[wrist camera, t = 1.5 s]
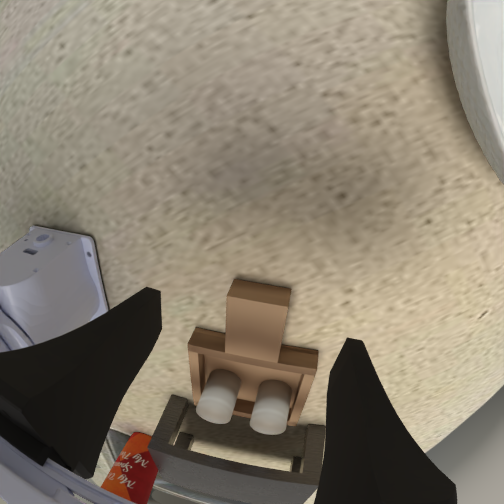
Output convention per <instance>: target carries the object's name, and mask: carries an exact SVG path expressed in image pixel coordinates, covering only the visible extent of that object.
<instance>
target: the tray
mask: <svg viewBox="0 0 504 504" xmlns="http://www.w3.org/2000/svg"><path fill="white" fill-rule="evenodd" d="M290 295H291V289H289V288H283V287H277V286H272V285H266V284H260V283H255V282H249V281H243V280H238V279H234V281H233V283H232V285H231V287H230V290H229V292H228V294H227V303H226V334H225V333H220V332H215V331H211V330H206V329H202V328H197V327H196V328H195V330H194V332H193V334H192V336H191V338H190V340H189V342H188V354H189V364H190V374H191V383H192V392H193V400H194V405H196V406H197V407H196V412H197V414H198V415H199V416H200V417H201V418H203V419H205V420H207V421H209V422H212V423H217V424H225V423H228V422H229V421H230V420H231V416H232V415H237V416H241V417H246V418H251V420H250V426H251V427H252V428H253V429H254V430H255V431H257V432H260V433H263V434H269V435H276V434H280V433H283V432H284V431H285V430H286V425H290V426H296V425H297V423H298V420H299V418H300V415H301V412H302V410H303V407H304V404H305V402H306V399H307V396H308V393H309V391H310V388H311V385H312V382H313V379H314V377H315V374H316V371H317V363H318V350H312V349H305V348H299V347H293V346H287V345H281V343H282V338H283V333H284V327H285V322H286V317H287V311H288V306H289V300H290Z"/></svg>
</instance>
